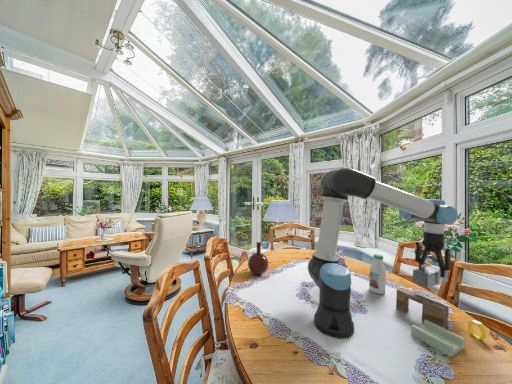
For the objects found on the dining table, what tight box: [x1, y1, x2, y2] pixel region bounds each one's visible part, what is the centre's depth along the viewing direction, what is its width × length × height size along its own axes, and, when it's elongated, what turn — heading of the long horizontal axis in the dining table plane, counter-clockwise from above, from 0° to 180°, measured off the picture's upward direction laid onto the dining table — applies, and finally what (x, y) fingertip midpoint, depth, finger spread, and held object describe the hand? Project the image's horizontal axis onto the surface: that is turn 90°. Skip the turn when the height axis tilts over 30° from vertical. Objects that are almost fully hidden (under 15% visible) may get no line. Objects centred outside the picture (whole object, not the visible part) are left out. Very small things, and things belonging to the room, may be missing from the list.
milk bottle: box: [368, 253, 387, 295], centre depth 117 cm, size 8×8×20 cm
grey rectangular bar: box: [412, 264, 449, 289], centre depth 100 cm, size 18×6×6 cm, turn 116°
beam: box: [395, 287, 449, 330], centre depth 93 cm, size 4×18×9 cm, turn 26°
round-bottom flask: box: [247, 241, 269, 275], centre depth 137 cm, size 13×13×20 cm
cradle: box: [410, 320, 466, 358], centre depth 79 cm, size 12×10×4 cm
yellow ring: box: [467, 319, 487, 341], centre depth 82 cm, size 6×3×6 cm, turn 175°
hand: (431, 280), depth 101 cm, fingers closed on grey rectangular bar, 6 cm apart
